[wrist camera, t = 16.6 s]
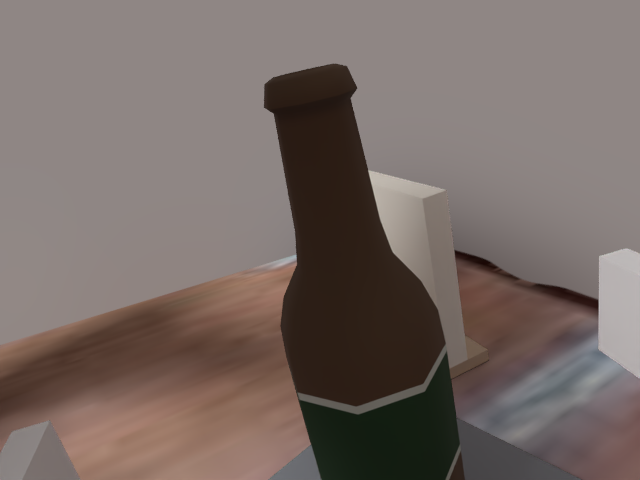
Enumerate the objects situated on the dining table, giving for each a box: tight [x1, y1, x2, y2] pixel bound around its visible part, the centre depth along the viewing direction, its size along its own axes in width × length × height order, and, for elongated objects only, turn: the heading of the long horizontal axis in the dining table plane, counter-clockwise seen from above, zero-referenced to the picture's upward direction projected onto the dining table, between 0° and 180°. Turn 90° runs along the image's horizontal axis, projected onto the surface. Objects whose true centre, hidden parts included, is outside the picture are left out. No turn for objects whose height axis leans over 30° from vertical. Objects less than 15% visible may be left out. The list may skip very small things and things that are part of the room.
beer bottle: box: [264, 64, 465, 480], centre depth 23 cm, size 8×8×24 cm
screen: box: [368, 170, 489, 379], centre depth 44 cm, size 20×6×15 cm, turn 24°
